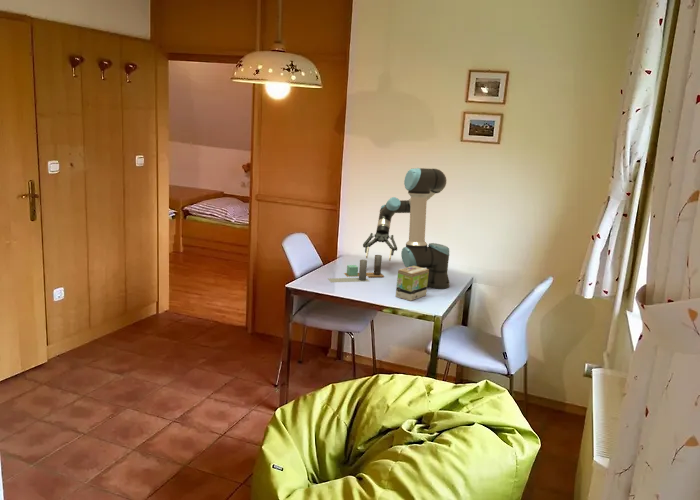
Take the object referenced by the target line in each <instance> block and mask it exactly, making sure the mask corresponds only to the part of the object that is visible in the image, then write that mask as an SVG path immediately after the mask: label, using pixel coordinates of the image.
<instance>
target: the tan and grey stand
mask: <svg viewBox="0 0 700 500" xmlns="http://www.w3.org/2000/svg"><path fill="white" fill-rule="evenodd" d="M382 259H383V255H381V254H374V264H373V271H372V272H366V277H367V278H369V279H375V278H376V279H378V278H379V279H380V278H384V277H385V276H384V274H383V273H382ZM343 274H344V275H345V276H346V278H358V277H359V272H358V276H349V275H348V274H347V272H344V273H343Z"/></svg>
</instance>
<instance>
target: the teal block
mask: <svg viewBox="0 0 700 500" xmlns="http://www.w3.org/2000/svg"><path fill="white" fill-rule="evenodd" d="M346 273H347V274H348V275H349V276H357V277H359V276H358V273H359V266H357V265H356V264H347V266H346Z"/></svg>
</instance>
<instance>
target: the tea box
mask: <svg viewBox="0 0 700 500" xmlns="http://www.w3.org/2000/svg"><path fill="white" fill-rule="evenodd" d="M428 275H429V269H427V268H422V267H418V266H411V267H405V268H404V267H403V268H400V269H398V270H397V278H396V287H395V289H396V290H395V297H396V298H400V299H403V300H406V301H410V302H412V301H414V300H416V299H419V298H422V297H425V296H427V292H428V287H427V283H428Z"/></svg>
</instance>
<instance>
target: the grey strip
mask: <svg viewBox="0 0 700 500" xmlns="http://www.w3.org/2000/svg"><path fill="white" fill-rule="evenodd" d="M367 268H368V260H367V259H360V260H359V267H358V273H359V276H358V277H342V278H341V277H339V278H338V277H337V278H336V277H332V278H331V277H330V278H327V280H328V281H329V282H330V283H357V282H361V283H362V282H370V280H369V279H368V278H367V276H366V273H367Z"/></svg>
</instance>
